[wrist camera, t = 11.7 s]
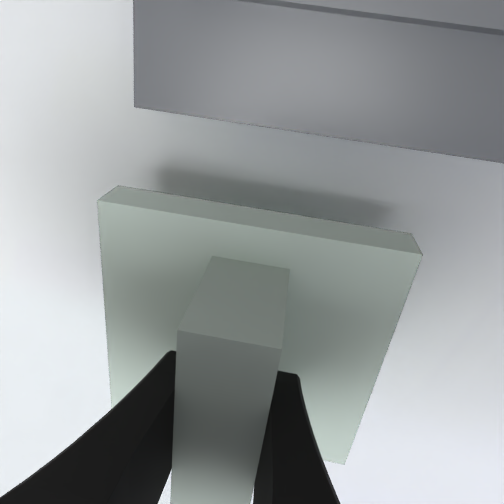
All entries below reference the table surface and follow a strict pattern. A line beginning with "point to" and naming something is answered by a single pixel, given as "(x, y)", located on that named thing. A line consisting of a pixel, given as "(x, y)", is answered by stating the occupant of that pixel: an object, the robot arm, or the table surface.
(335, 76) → the panel
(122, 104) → the table surface
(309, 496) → the robot arm
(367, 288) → the cover
